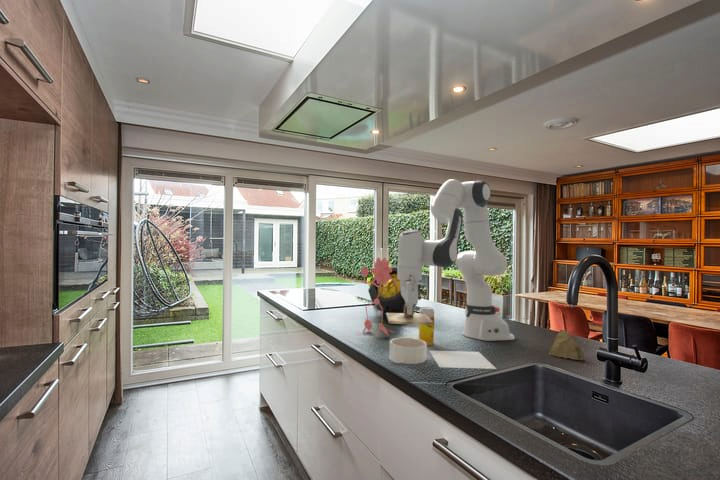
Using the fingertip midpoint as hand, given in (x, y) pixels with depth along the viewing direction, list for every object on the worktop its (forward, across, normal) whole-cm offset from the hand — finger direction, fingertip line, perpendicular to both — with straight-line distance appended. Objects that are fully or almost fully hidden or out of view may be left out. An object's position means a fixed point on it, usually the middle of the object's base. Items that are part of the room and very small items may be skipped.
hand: (408, 313), depth 133 cm
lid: (+2, 0, 0) cm, 2 cm away
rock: (+17, +7, -61) cm, 64 cm away
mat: (+16, 0, -19) cm, 25 cm away
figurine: (+17, +36, +8) cm, 41 cm away
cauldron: (+17, +76, -2) cm, 78 cm away
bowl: (+17, 0, 0) cm, 17 cm away
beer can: (+17, +20, -10) cm, 28 cm away
